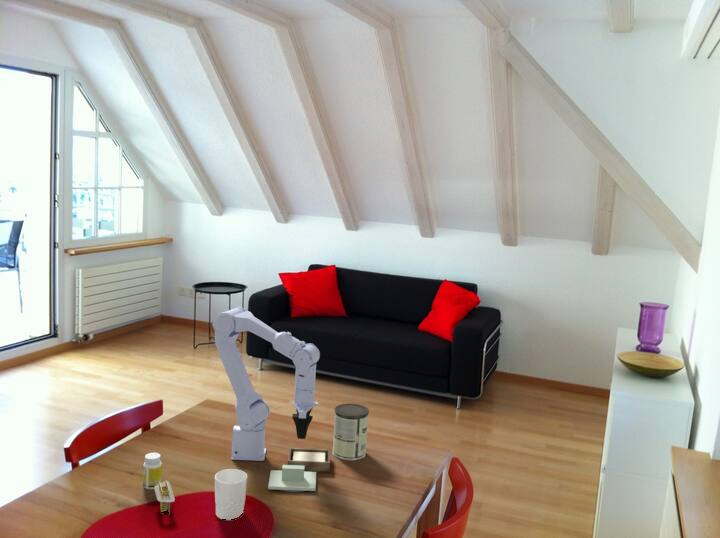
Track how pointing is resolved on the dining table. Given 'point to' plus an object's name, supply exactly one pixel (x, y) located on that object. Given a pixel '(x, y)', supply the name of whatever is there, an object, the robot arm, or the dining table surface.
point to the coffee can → (350, 431)
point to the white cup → (230, 493)
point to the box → (310, 459)
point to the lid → (292, 479)
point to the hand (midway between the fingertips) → (302, 432)
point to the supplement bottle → (152, 470)
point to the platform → (164, 495)
